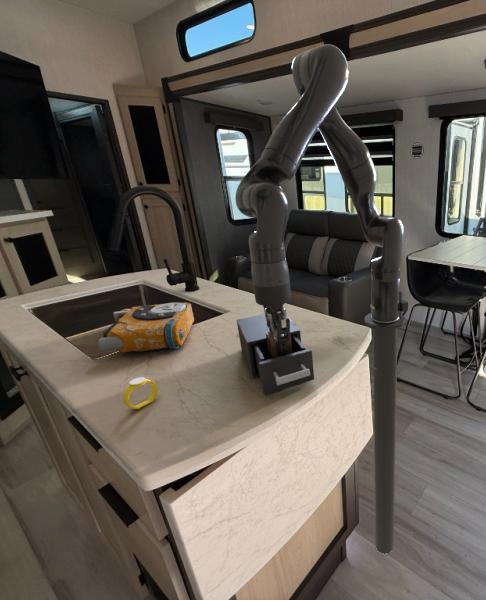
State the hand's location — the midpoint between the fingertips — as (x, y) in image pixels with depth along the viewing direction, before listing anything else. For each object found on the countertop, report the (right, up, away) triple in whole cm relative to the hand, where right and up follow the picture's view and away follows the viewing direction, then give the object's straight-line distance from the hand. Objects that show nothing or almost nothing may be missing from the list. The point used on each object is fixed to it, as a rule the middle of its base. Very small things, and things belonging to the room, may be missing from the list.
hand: (280, 349), depth 74 cm
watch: (-27, -11, -6) cm, 30 cm away
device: (-47, 0, +24) cm, 53 cm away
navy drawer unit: (-6, -4, +12) cm, 14 cm away
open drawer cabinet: (0, -7, +2) cm, 7 cm away
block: (0, 0, 0) cm, 0 cm away
